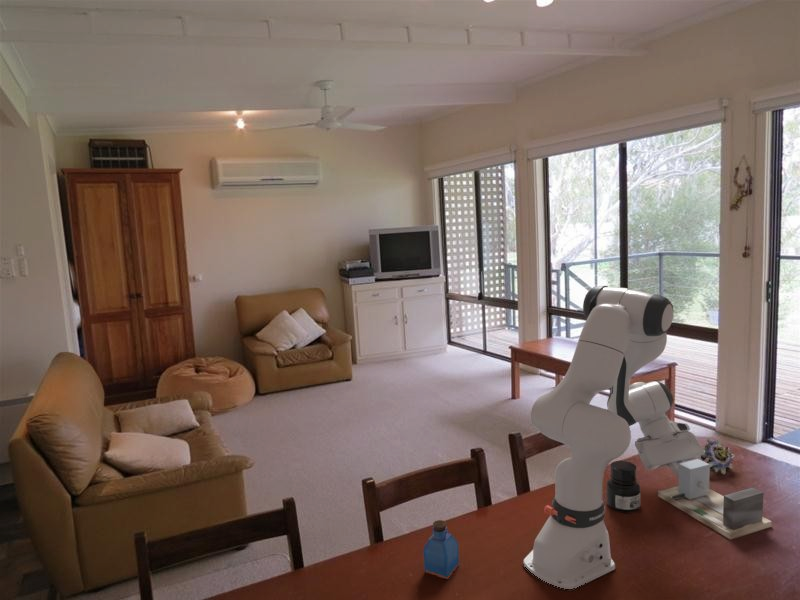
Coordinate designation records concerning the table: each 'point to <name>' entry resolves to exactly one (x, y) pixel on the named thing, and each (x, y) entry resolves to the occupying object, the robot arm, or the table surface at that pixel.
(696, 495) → the gauge slider
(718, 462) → the passion flower
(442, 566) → the perfume bottle
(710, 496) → the bench
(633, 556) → the table surface
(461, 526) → the table surface
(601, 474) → the robot arm
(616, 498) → the ink bottle
